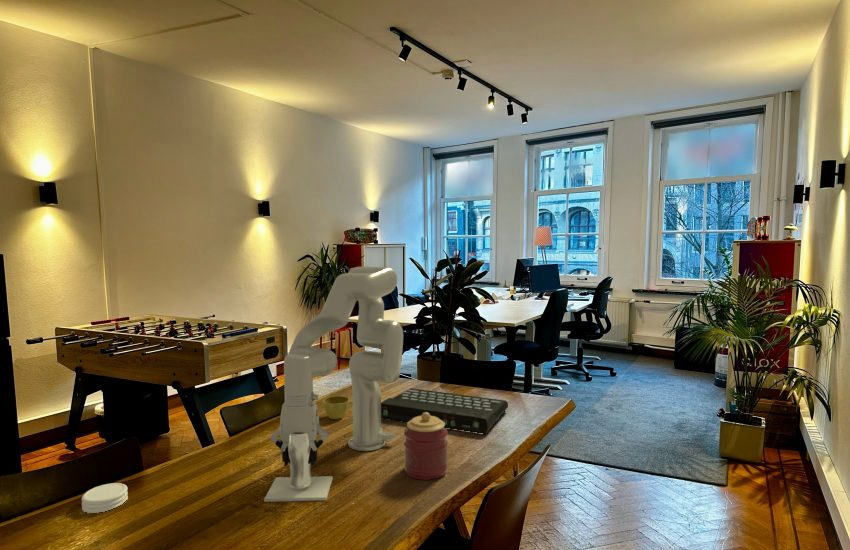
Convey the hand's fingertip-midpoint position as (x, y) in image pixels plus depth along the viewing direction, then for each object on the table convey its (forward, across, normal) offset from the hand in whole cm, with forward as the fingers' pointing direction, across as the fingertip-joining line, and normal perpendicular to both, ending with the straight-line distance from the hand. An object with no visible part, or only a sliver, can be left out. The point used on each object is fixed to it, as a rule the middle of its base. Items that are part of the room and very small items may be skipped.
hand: (300, 463), depth 134 cm
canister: (+8, -35, -10) cm, 37 cm away
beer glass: (+6, 0, 0) cm, 6 cm away
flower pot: (+8, -2, -58) cm, 58 cm away
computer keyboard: (+8, -44, -59) cm, 74 cm away
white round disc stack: (+8, +49, +5) cm, 50 cm away
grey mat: (+7, 0, 0) cm, 7 cm away
